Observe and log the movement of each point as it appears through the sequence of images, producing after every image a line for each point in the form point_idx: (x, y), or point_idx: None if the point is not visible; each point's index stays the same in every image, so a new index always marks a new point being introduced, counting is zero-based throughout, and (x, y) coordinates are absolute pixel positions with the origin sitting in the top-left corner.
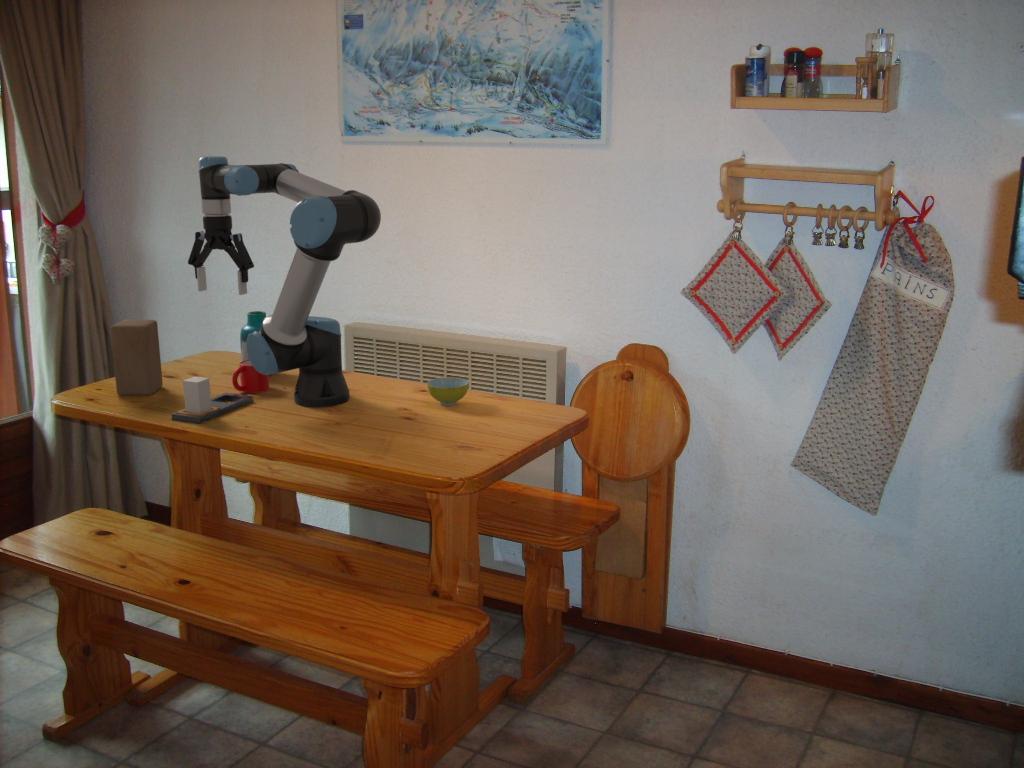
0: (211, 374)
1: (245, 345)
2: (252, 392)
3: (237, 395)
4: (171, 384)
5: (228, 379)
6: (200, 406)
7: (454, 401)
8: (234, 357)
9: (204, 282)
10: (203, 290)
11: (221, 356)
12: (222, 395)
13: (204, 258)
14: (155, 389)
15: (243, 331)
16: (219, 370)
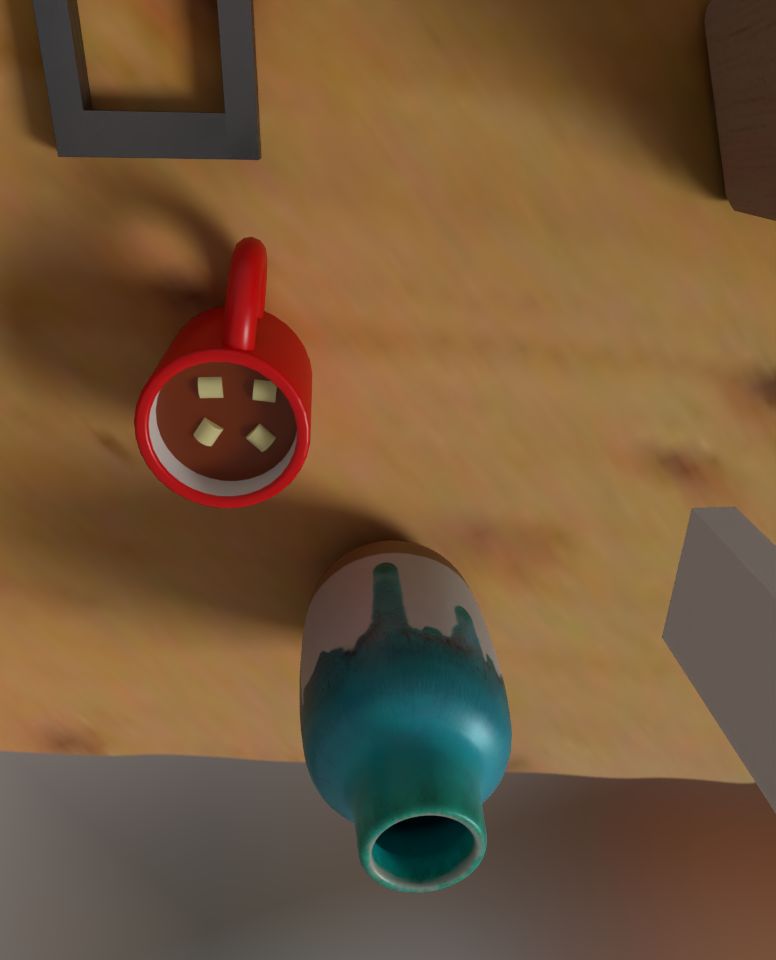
0: (608, 501)
1: (422, 614)
2: (203, 312)
3: (149, 131)
4: (706, 272)
5: (478, 463)
6: None
7: None
8: (658, 740)
9: (730, 689)
10: (679, 574)
11: (720, 731)
12: (231, 93)
13: None
14: (712, 80)
15: (454, 683)
16: (609, 567)
